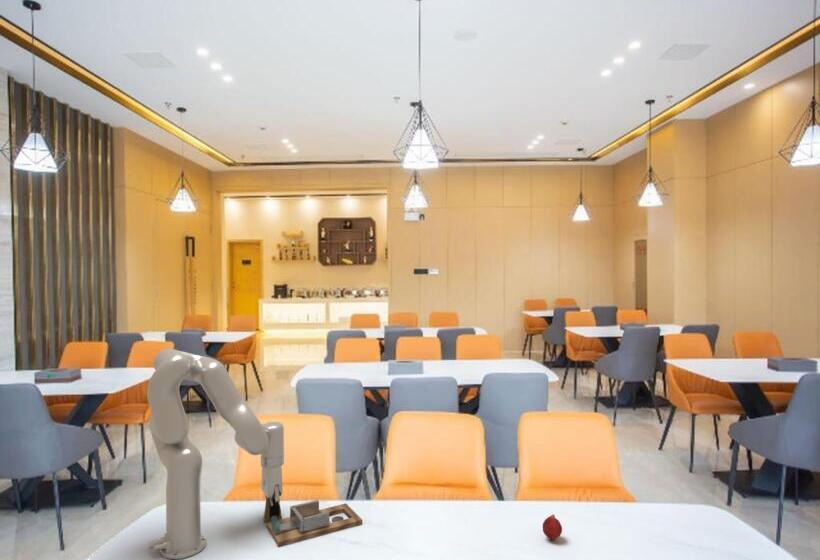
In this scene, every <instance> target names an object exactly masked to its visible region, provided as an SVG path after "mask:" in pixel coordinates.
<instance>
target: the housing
mask: <svg viewBox="0 0 820 560" xmlns="http://www.w3.org/2000/svg"><path fill="white" fill-rule="evenodd" d="M289 507H290V508H289V509H290V510H289V512H290V513H289V515H290V519H291V520H292V521H291V522H287V523H283V524H280V522H279V520H278V519H277V517H276V516H272V529H273V531H274V532H275V534H280V532H284V531H288V530H292V529H296V528H297V529H298V530H299V531H300V533H302V532H306V531H310V530H313V529H317V528H321V527H325V526H329V521H330V516H329V512H324V513H320V514H317V513H319V510H320V501H319V500H318V499H317V500H316V499H315V500H313V501H308V502H304V503H299V504H295V505H291V506H289ZM313 514H316V515H313ZM309 515H312V516H309ZM305 516H308V517H305ZM303 517H304V518H303Z"/></svg>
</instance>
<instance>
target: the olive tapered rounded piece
mask: <svg viewBox="0 0 820 560" xmlns="http://www.w3.org/2000/svg"><path fill="white" fill-rule="evenodd" d="M279 492H280V491H279ZM273 496H275V494H273ZM264 497H265V508H264V514H263V523H264V524H266V525H267V523H268V522H272V518H270V505H271V504H270V498H269V499H268V498H267V497H266V496H265V495H264ZM274 499H275V498H273V500H274ZM279 507H280V515H279V516H277V515H275V516H276V517H277V519H278V520H280V519H283V515H282V509H281V504H279ZM273 516H274V515H273Z"/></svg>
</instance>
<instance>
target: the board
mask: <svg viewBox="0 0 820 560" xmlns="http://www.w3.org/2000/svg"><path fill="white" fill-rule="evenodd" d="M324 512H329V517H332V516H333V517H332V518H331V520H329V526H325V527H321V528H317V529H313V530H310V531H306V532H302V533H300V531H299V530H298V529H297V528H296V529H292V530H288V531H284V532H280V534H275V532H274V531H273V529H272V522H268V523H267V524H266V529H267V531H268V532H269V534H270V535H271V538H272V539H273V541H274V542H275V544H276V546H277V547H278V548H280V547H284V546H288V545H291V544H296V543H298V542H302V541H306V540H309V539H314V538H318V537H321V536H324V535H328V534H332V533H336V532H339V531H343V530H346V529H349V528H355V527H357V526H358V527H359V526H361V525H363V518H361V517H360V516H359V515H358V514H357V512H355V511H354V509H352V508H351V507H350V506H349V505H348V503H342V504H337V505H333V506H331V507H327V508H322V509H319V513H317V514H320V513H324ZM341 514H344V515H345V516H346V517H347V518H345V519H344V517H343V516H340V515H341ZM313 515H316V514H313ZM309 516H312V515H309ZM305 517H308V516H305ZM303 518H304V517H303ZM291 521H292V520H291V519H290V517H285V518H282V519H280V520H279V522H280V524H283V523H287V522H291Z"/></svg>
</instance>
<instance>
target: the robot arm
mask: <svg viewBox="0 0 820 560" xmlns="http://www.w3.org/2000/svg"><path fill="white" fill-rule="evenodd" d="M152 364H153V365H152V366H153V368H154V372H153V373H152V375H151V376H150V379H149V381H148V384H147V389H146V395H147V396H146V397H147V402H148V406H149V409H150V413H151V416H150V418H149V423H148V424H149V426H148V427H149V431H150V434H151V437H152V440H153V442H154V443H153V444H154V445H155V448H156V449H155V450H156V452H157V455H158V458H159V460H160V462H161V464H162V465H163V466H164V467H165V469H166V473H167V477H166V485H165V504H166V505H165V506H166V507H165V510H166V511H165V513H166V514H165V515H166V516H165V517H166V518H165V519H166V520H165V521H166V522H165V524H166V525H165V527H166V528H165V530H166V532H165V533H164V536H162V537H161V538H160V539H154V540H150V541H149V542H148V543H149V544H148V546H149V547H148V548H149V549H152V548H153V549H154V551H157V550H160V555H161V556H162V557H163V558H165V559H168V560H169V559H170V560H178V559H179V560H180V559H185V558H189V557H192V556H194V555H196V554H198V553H200V552H201V551H202V550H204V548H205V547H206V545H207V538H206V537H205V536H204V535H202V533H201V531H202V529H201V521H202V520H201V519H202V517H201V480H202V479H201V478H202V471H203V457H202V454H201V452H200V450H199V449H198V448H197V447H196V446H195V445H194V444H193V443H192V442H191V441H190V440H189V439H190V438H189V436H188V434H189V431H190V422H189V419H188V416H187V414H186V411H185V408H184V406H183V402H182V399H181V398H182V397H181V394H180V386H181V384H182V382H183V380H185V381H191V382H195V383H196V382H197V383H199V384H200V387H202V389H203V390H204V392H205V394H206V396H207V397H208V399H209V400H210V402H211V403H212V406H213V407H214V409H215V411H216V412H217V413H218V414H219V416H220V417H221V418H222V419H223V420H225V421H226V422H227V423H228V424H229V425H230V427H231V428H232V429H233V431H235V433H234V441H235V443H236V444H237V446H238V447H240V448H241V449H243V450H244V451H245V452H247V453H248V454H249V455H252V456H259V455H260V467H261V481H260V482H261V484H260V486H261V487H260V488H261V492H263V494H264V497H265V496H266V497H267V498H268V499H269V498H270V504H271V505H270V518H272V516H273V515H274V516H275V515H277V516H279V515H280V509H281V506H280V507H279V504H280V502H281V496H282V495H283V471H282V466H283V465H284V464H285V454H284V453H285V451H284V449H285V445H284V444H285V443H284V441H285V438H284V437H285V431H284V429H285V427H284V425H283V423H282V422H280V421H269V422H266V423H261V422H260V420H259V418H258V417H257V416H256V414H255V413H254V412H253V410H252V409H251V407H250V406H249V404H248V403H247V401H246V400H245V399H244V398H243V396H242V394H241V393H240V391H239V390H238V389H239V388H237V385H235V383H234V381H233V379H232V378H231V376H230V374H229V372H228V371H227V369H226V367H225V366H224V365H223V363H222V362H221V361H220V360H216V359H214V358H212V357H210V356H209V357H208V356H203V355H199V354H194V353H191V352H187V351H181V350H178V349H173V348H166V349H162V350H160V351H159V352H158V353H157V354H155V357H154V358H153V363H152ZM279 491H280V492H279ZM273 494H275V496H273ZM266 497H265V498H266ZM273 498H275V499H274V500H273ZM280 505H281V504H280Z"/></svg>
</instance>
